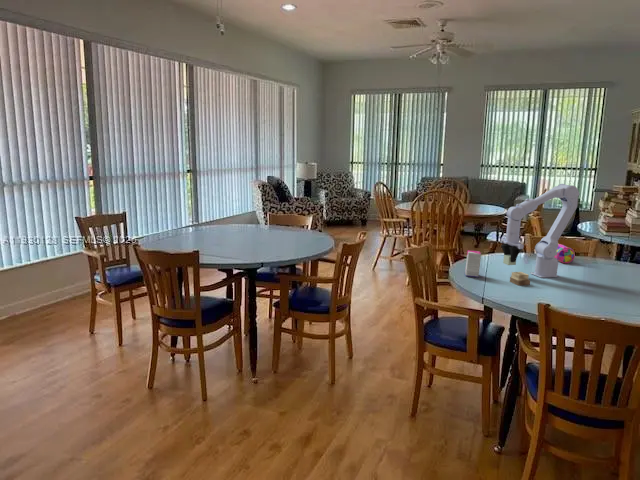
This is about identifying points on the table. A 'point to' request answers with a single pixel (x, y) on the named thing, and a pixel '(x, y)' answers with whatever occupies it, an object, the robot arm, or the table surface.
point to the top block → (508, 260)
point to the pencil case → (564, 254)
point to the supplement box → (472, 264)
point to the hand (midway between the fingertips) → (509, 260)
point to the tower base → (520, 282)
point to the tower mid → (519, 276)
